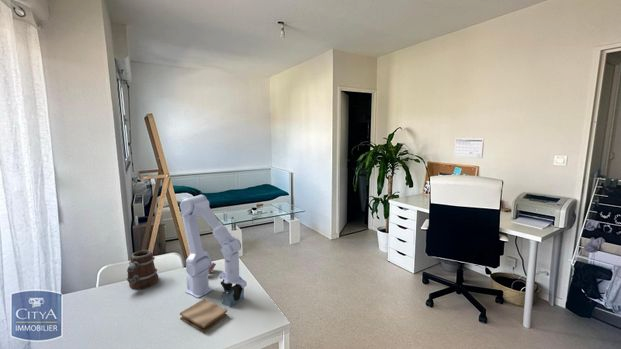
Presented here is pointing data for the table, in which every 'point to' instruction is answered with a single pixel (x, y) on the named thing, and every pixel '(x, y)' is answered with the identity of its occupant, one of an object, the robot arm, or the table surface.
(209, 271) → the video game controller
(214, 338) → the table surface
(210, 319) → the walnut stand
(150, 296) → the table surface
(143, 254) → the brown wooden bucket
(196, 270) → the robot arm
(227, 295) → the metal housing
